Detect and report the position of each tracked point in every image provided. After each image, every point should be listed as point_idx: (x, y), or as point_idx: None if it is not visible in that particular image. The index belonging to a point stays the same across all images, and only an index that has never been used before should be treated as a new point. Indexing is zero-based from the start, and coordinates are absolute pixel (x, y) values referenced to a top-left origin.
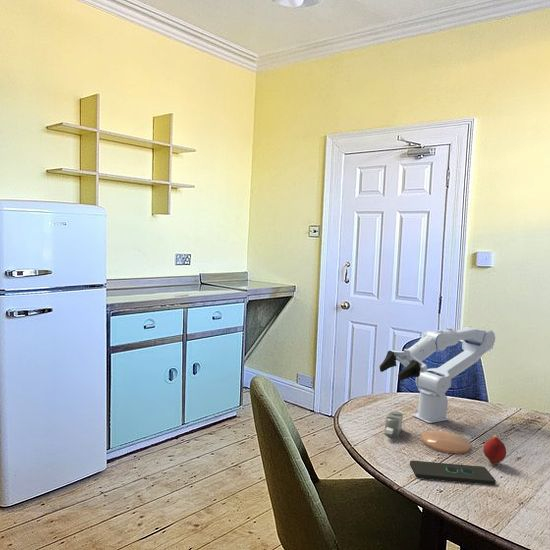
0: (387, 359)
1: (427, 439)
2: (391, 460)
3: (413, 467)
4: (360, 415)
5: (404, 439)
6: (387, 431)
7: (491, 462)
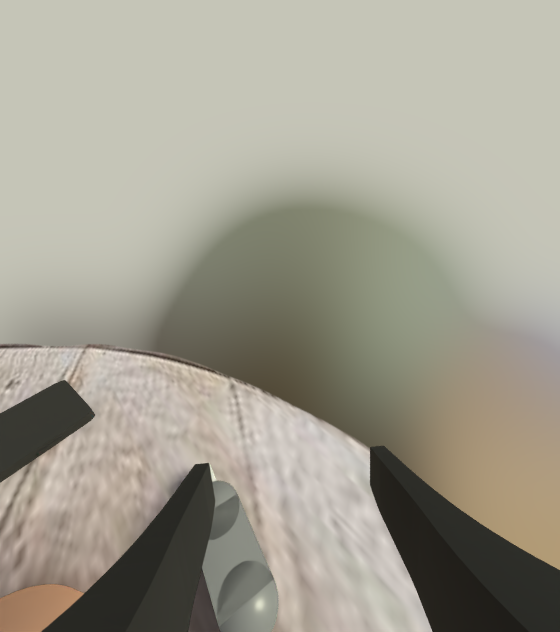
0: (429, 513)
1: None
2: (138, 398)
3: (76, 393)
4: None
5: None
6: None
7: None
